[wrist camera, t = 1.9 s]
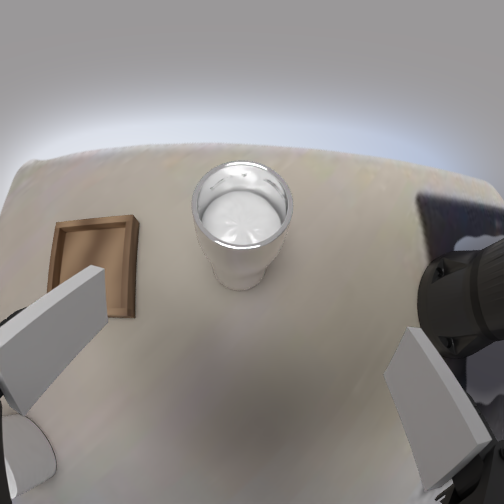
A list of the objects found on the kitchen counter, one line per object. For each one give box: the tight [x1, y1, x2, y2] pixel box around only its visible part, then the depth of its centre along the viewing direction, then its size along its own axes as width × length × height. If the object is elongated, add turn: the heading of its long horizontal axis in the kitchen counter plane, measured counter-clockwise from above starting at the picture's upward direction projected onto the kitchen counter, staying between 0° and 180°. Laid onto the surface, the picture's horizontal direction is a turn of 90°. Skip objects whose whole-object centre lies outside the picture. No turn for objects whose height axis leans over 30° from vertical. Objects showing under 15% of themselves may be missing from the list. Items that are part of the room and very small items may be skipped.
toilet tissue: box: [2, 414, 56, 499], centre depth 17 cm, size 11×12×10 cm
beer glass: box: [192, 160, 293, 291], centre depth 25 cm, size 7×7×15 cm
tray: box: [47, 215, 139, 318], centre depth 29 cm, size 12×12×2 cm
